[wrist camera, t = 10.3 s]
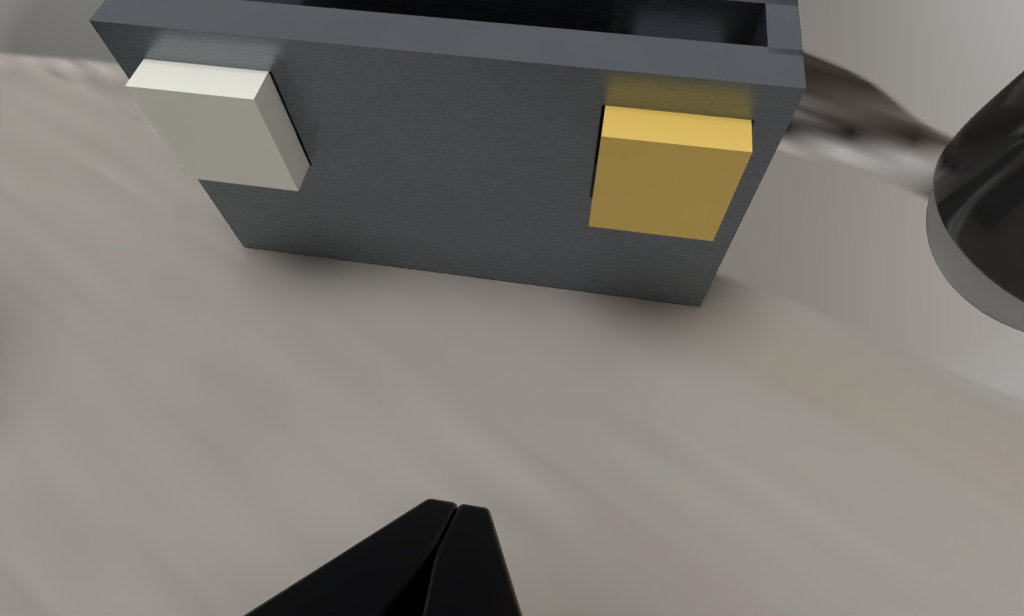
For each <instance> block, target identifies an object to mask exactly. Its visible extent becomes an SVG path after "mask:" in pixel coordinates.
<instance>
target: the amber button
mask: <svg viewBox="0 0 1024 616" xmlns="http://www.w3.org/2000/svg"><path fill="white" fill-rule="evenodd" d="M751 154H752V123H751V120H745V119H735V118H725V117H716V116H706V115H696V114H686V113H676V112H666V111H656V110H646V109H636V108H626V107H616V106H606V105H605V112H604V120H603V127H602V134H601V141H600V148H599V155H598V162H597V169H596V176H595V183H594V190H593V197H592V205H591V212H590V220H589V226H591V227H599V228H607V229H616V230H624V231H632V232H641V233H649V234H657V235H665V236H674V237H682V238H690V239H699V240H707V241H713V240H714V238H715V235H716V233H717V231H718V229H719V226H720V224H721V222H722V220H723V217H724V215H725V213H726V211H727V208H728V206H729V204H730V202H731V199H732V197H733V195H734V193H735V190H736V188H737V186H738V184H739V181H740V179H741V177H742V175H743V172H744V170H745V168H746V166H747V163H748V161H749V159H750V157H751Z"/></svg>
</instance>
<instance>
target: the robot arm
mask: <svg viewBox="0 0 1024 616" xmlns="http://www.w3.org/2000/svg"><path fill="white" fill-rule="evenodd" d="M244 616H522V613H521V610H520V607H519V603H518V600H517V597H516V594H515V591H514V587H513V584H512V581H511V578H510V574H509V571H508V568H507V565H506V562H505V558H504V555H503V552H502V549H501V545H500V542H499V539H498V536H497V533H496V529H495V526H494V523H493V520H492V516H491V513H490V511H489V510H488V509H487V508H484V507H478V506H472V505H466V504H462V505H460V506H459V507H457V505H456V504H455V503H453V502H448V501H442V500H436V499H428V500H425V501H424V502H422V503H421V504H419V505H417V506H416V507H414V508H413V509H411V510H410V511H408V512H406V513H405V514H403V515H402V516H400V517H399V518H397V519H395V520H394V521H392V522H391V523H389V524H387V525H386V526H384V527H383V528H381V529H380V530H378V531H376V532H375V533H373V534H372V535H370V536H369V537H367V538H365V539H364V540H362V541H361V542H359V543H358V544H356V545H354V546H353V547H351V548H350V549H348V550H346V551H345V552H343V553H342V554H340V555H339V556H337V557H335V558H334V559H332V560H331V561H329V562H328V563H326V564H324V565H323V566H321V567H320V568H318V569H317V570H315V571H313V572H312V573H310V574H309V575H307V576H305V577H304V578H302V579H301V580H299V581H298V582H296V583H294V584H293V585H291V586H290V587H288V588H287V589H285V590H283V591H282V592H280V593H279V594H277V595H276V596H274V597H272V598H271V599H269V600H268V601H266V602H264V603H263V604H261V605H260V606H258V607H257V608H255V609H253V610H252V611H250V612H249V613H247V614H246V615H244Z"/></svg>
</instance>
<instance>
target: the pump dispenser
mask: <svg viewBox="0 0 1024 616" xmlns="http://www.w3.org/2000/svg"><path fill="white" fill-rule="evenodd" d="M926 229H927V237H928V241H929V245H930V248H931V251H932V254H933V257H934V259H935V261H936V263H937V265H938V267H939V269H940V270H941V272H942V273H943V275H944V276H945V278H946V279H947V281H948V282H949V283H950V284H951V285H952V287H953V288H954V289H955V290H956V291H957V292H958V293H959V294H960V295H961V296H963V298H965V299H966V300H967V301H968V302H969V303H971V304H972V305H973V306H974V307H976V308H977V309H979V310H980V311H982V312H983V313H985V314H986V315H988V316H990V317H991V318H993V319H995V320H997V321H999V322H1001V323H1003V324H1005V325H1008V326H1010V327H1012V328H1015V329H1017V330H1021V331H1023V332H1024V71H1023V72H1022V73H1021V74H1019V75H1018V76H1017V77H1016V78H1015V79H1014V80H1012V81H1011V82H1010V83H1009V84H1008V85H1007V86H1006V87H1005V88H1003V89H1002V90H1001V91H1000V92H999V93H998V94H997V95H996V96H994V97H993V99H991V100H990V101H989V102H988V103H987V104H986V105H984V106H983V107H982V108H981V109H980V110H979V111H978V112H977V113H976V114H975V115H974V116H973V117H972V118H971V119H970V120H969V121H968V122H967V123H966V124H965V125H964V126H963V127H962V128H961V129H960V131H959V132H958V133H957V134H956V135H955V136H954V137H953V139H952V140H951V141H950V142H949V144H948V145H947V146H946V148H945V149H944V150H943V152H942V154H941V155H940V157H939V159H938V162H937V164H936V167H935V171H934V178H933V187H932V190H931V193H930V197H929V201H928V206H927V215H926Z"/></svg>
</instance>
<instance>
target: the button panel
mask: <svg viewBox="0 0 1024 616" xmlns="http://www.w3.org/2000/svg"><path fill="white" fill-rule="evenodd" d="M798 9H799V8H798V0H105V1H104V2H103V4H102V5H101V6H100V8H99V9H98V10H97V11H96V13H95V14H94V15H93V16H92V18H91V19H90V22H91V24H92V25H93V27H94V28H95V30H96V31H97V33H98V34H99V35H100V37H101V38H102V40H103V41H104V43H105V44H106V45H107V47H108V49H109V50H110V51H111V53H112V54H113V56H114V57H115V59H116V60H117V62H118V63H119V65H120V66H121V68H122V69H123V71H124V72H125V73H126V75H127V76H128V78H129V79H130V78H131V77H132V75H133V74H134V72H135V71H136V70H137V68H138V67H139V65H140V64H141V62H142V61H143V59H149V60H159V61H169V62H179V63H189V64H199V65H209V66H219V67H229V68H239V69H249V70H259V71H269V72H272V74H273V76H274V78H275V81H276V83H277V85H278V87H279V90H280V92H281V94H282V97H283V99H284V101H285V104H286V106H287V108H288V111H289V113H290V115H291V117H292V120H293V122H294V124H295V127H296V129H297V133H296V135H297V138H298V140H299V142H300V144H301V147H302V149H303V151H304V154H305V156H306V158H307V160H308V163H309V165H310V166H309V168H308V170H307V172H306V175H305V177H304V179H303V182H302V184H301V186H300V188H299V191H292V190H284V189H275V188H267V187H259V186H251V185H242V184H234V183H226V182H217V181H209V180H201V179H198V180H199V182H200V183H201V185H202V186H203V188H204V189H205V191H206V192H207V193H208V195H209V196H210V198H211V199H212V201H213V202H214V204H215V205H216V207H217V208H218V210H219V211H220V212H221V214H222V215H223V217H224V218H225V220H226V221H227V223H228V224H229V226H230V227H231V229H232V230H233V231H234V233H235V234H236V236H237V237H238V239H239V240H240V242H241V243H242V245H243V246H244V247H251V248H259V249H266V250H274V251H281V252H289V253H297V254H304V255H312V256H319V257H327V258H335V259H342V260H350V261H358V262H365V263H373V264H380V265H388V266H396V267H403V268H411V269H419V270H426V271H434V272H441V273H449V274H457V275H464V276H472V277H480V278H487V279H495V280H502V281H510V282H518V283H525V284H533V285H541V286H548V287H556V288H563V289H571V290H579V291H586V292H594V293H602V294H609V295H617V296H624V297H632V298H640V299H647V300H655V301H663V302H670V303H678V304H685V305H693V306H700V305H701V303H702V301H703V299H704V297H705V295H706V293H707V291H708V289H709V287H710V284H711V282H712V280H713V278H714V276H715V274H716V272H717V270H718V268H719V266H720V264H721V262H722V260H723V258H724V256H725V253H726V252H727V250H728V248H729V245H730V243H731V241H732V239H733V237H734V235H735V233H736V231H737V229H738V227H739V225H740V223H741V221H742V219H743V217H744V215H745V212H746V211H747V209H748V207H749V205H750V203H751V200H752V198H753V196H754V194H755V192H756V190H757V188H758V186H759V184H760V182H761V180H762V178H763V176H764V174H765V172H766V170H767V168H768V166H769V164H770V161H771V159H772V158H773V155H774V153H775V151H776V149H777V147H778V145H779V143H780V141H781V139H782V137H783V135H784V133H785V131H786V129H787V127H788V125H789V123H790V121H791V119H792V117H793V115H794V112H795V110H796V108H797V106H798V104H799V102H800V100H801V98H802V96H803V94H804V92H805V90H806V81H805V71H804V60H803V50H802V40H801V29H800V19H799V10H798ZM605 105H606V106H616V107H626V108H636V109H646V110H656V111H666V112H676V113H686V114H696V115H706V116H716V117H725V118H735V119H745V120H751V123H752V154H751V157H750V159H749V161H748V163H747V166H746V168H745V170H744V172H743V175H742V177H741V179H740V181H739V184H738V186H737V188H736V190H735V193H734V195H733V197H732V199H731V202H730V204H729V206H728V208H727V211H726V213H725V215H724V217H723V220H722V222H721V224H720V226H719V229H718V231H717V233H716V235H715V238H714V240H713V241H707V240H699V239H690V238H682V237H674V236H665V235H657V234H649V233H641V232H632V231H624V230H616V229H607V228H599V227H591V226H589V220H590V212H591V205H592V197H593V190H594V183H595V176H596V169H597V162H598V155H599V148H600V141H601V134H602V127H603V120H604V112H605Z"/></svg>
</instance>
